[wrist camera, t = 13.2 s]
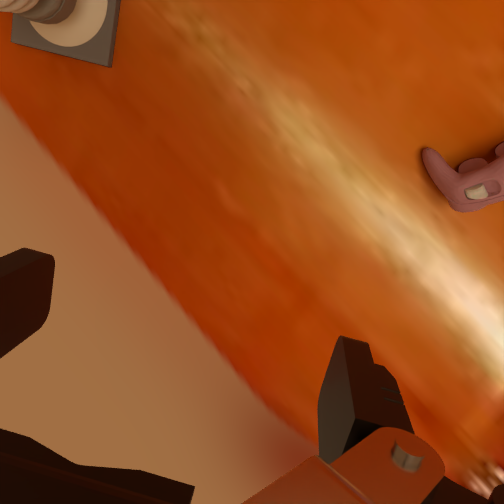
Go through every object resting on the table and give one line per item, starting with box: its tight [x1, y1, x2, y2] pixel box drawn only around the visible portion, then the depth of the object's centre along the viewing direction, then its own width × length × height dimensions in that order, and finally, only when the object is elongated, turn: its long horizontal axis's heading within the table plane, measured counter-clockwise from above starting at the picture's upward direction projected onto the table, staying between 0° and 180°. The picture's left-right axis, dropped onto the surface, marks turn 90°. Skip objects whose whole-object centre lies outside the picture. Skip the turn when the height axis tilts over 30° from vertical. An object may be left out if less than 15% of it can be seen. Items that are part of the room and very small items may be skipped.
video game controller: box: [422, 142, 504, 212], centre depth 36 cm, size 10×5×7 cm, turn 119°
